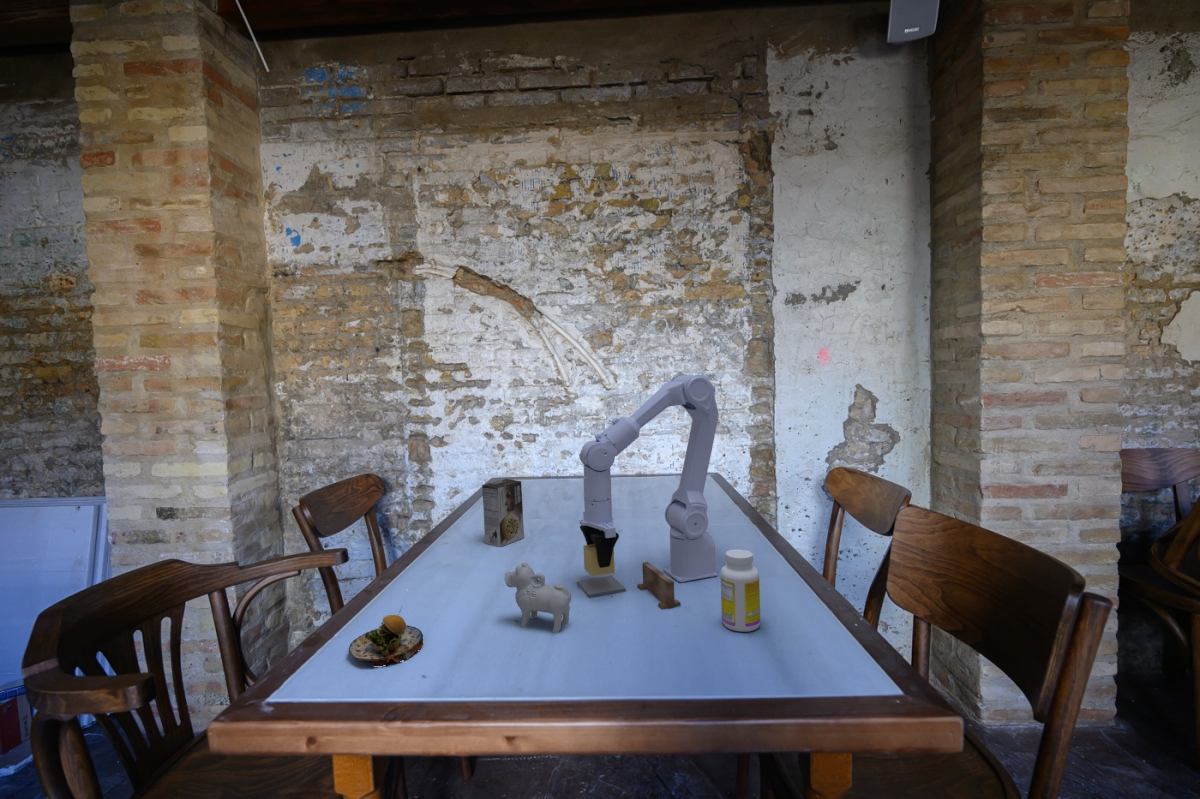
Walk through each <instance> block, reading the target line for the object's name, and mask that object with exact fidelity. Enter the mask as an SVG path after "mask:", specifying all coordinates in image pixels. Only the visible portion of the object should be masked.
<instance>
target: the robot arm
mask: <svg viewBox="0 0 1200 799" xmlns="http://www.w3.org/2000/svg"><path fill="white" fill-rule="evenodd" d="M715 394H716V387H715V385H713V383H712V382H711V381H710V379H709V378H708V377H707V376H705V375H702V374H695V375H694V374H693V375H689V374H677V375H675V376H673V377H672V378H671V379H670V380H669V381H667V382H665V383H664V384H663V385H662V386H661V387H660V388H659V389H658V390H657V391H656V392H655V393H653V395H652V396H650V397H649V398H648V399H647V400H646V401H645V402H644V403H643V404H642V405H641V406H639V408H637V410H636V411H634V412H633V413H632V414H631V415H630V416H620V417H619V418H617V417H615V418H613V419H612V420H611V423H612V424H611V425H609V426H608V427H607V428H606V429H604V430H603V431H602V432H601V433H596V434H595V435H594V438H595V440H589V441H586V443H584V444H583V445H582V447H581V450H580V453H579V454H578V456H579V457H578V458H579V460H580V462H581V463H582V464H583V500H584V511H583V514H582V515H583V516H582V517H583V519H581V520H580V519H579V522H578V523H579V529H580V531H581V533H582V534H583V537H584V540H585V544H586V545H592V544H594V545H595V548H596V553H597V559H598V564H599V567H600V568H603V567H609V566H610V562H611V557H612V553H613V549H614V550H615V546H616V543H617V541H618V540H619V537H620V534H619V533H618V532H616V526H614V525H615V524H614V518H613V509H612V508H613V504H612V503H613V502H612V500H613V498H612V475H611V467H612V466H613V465H614V463H615V458H616V457H617V456H619V455H620V454H621V453H622V452H623V451H624V450H626V449H627V448H628V447H629V446H630V445H631V444H633V442H635V441H637V439H638V438H639V437H640V433H641V432H640V430H641V429H642V428H644V426H645V425H647V424H648V423H649V422H650V421H651V420H653V419H654V418H656V417H657V416H658V415H660V414H661V413H662V412H664V411H665V410H666V409H667V408H670V407H674V406H681V407H683V409H685V411H686V412H687V414H688V415H689V416H690V418H691V419H692V420H691V421H692V422H691V426H690V432H689V436H688V441H687V446H686V450H685V455H684V461H683V466H682V471H681V476H680V481H679V486H678V488H677V489H676V490H675V491H674V492H673V493H672V496H671V500H670V502H669V504H667V506H666V508H665V511H664V519H665V521H666V523H667V524H668V525H669V527H670V529H669V552H670V554H669V556H670V558H669V559H670V567H669V566H668V567H664V568H663V571H664V572H665V573H666V574H668V575H669V576H670V577H672V578H673V579H674V580H676V581H677V582H679V583H684V582H690V581H695V580H701V579H707V578H711V577H717V576H718V575H719V574H718V572H717V570H716V569H717V566H716V565H717V564H716V543H715V540H714V537H713V535H712V534H711V533H710V532H708V531H707V529H708V525H709V518H708V514H707V512H708V511H707V510H708V503H707V501H706V498H705V496H704V492H705V491H704V490H705V487H706V486H705V485H706V481H707V476H708V470H709V466H710V462H711V457H712V451H713V445H714V442H715V436H716V431H717V426H718V421H719V417H720V416H719V409H718V406H717V402H716V398H715Z"/></svg>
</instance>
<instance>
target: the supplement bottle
mask: <svg viewBox="0 0 1200 799" xmlns="http://www.w3.org/2000/svg"><path fill="white" fill-rule="evenodd" d="M725 561H726V564H725V565H724V566H722V567H721V569H720V597H721V598H720V602H721V603H720V605H721V621H722V624H723V625H724V626H725V627H726V629H729V630H731V631H735V632H742V633H745V632H746V633H747V632H753V631H755V630H757V629H758V628H759V627H760V625H761V599H760V597H761V595H760V593H761V592H760V591H761V590H760V572H759V570H758V569H757V568H756V567H755V566H754V565H753V562H754V553H752V552H751V551H750V550H746V549H729V550H727V551H725Z"/></svg>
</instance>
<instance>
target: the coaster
mask: <svg viewBox="0 0 1200 799" xmlns="http://www.w3.org/2000/svg"><path fill="white" fill-rule="evenodd" d="M576 585H577V586H578V587H579V588H580V589H581V590H582V592H583V593H584V594H585V595H586V596H587V597H588V598H590V599H591V598H595V597H600V596H606V595H607V596H608V595H612V594H617V593H623V592H627V591H626V587H625V586H624V585H622V583H621V582H619V580H618V579H616V578H615V576H613V575H612V574H611V575H610V574H608V575H605V576H604V575H602V576H597V577H592V578H587V579H581V580H576Z"/></svg>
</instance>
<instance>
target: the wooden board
mask: <svg viewBox="0 0 1200 799" xmlns="http://www.w3.org/2000/svg"><path fill="white" fill-rule="evenodd" d="M636 587H637V589H638V590H640V591H644V590H647V591H649V593H650V594H652V595H653V596H654V597H655V598H656V599H657V600H659V601H660V602H658V603H657V606H658V607H659V608H660V609H661V610H665V609H672V608H676V607H679V606H680V607H681V606H682V604H681V603H682V602H681V601H680V600H678V599H675V582H674V580H672V579H671V578H670V577H668V576H667V575H666V574H664V573H663V572H662V571H660V570H659V569H658V568H656V567H655V566H654V565H652V564H651V563H650V562H649V561H646V562H642V583H637V586H636Z"/></svg>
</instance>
